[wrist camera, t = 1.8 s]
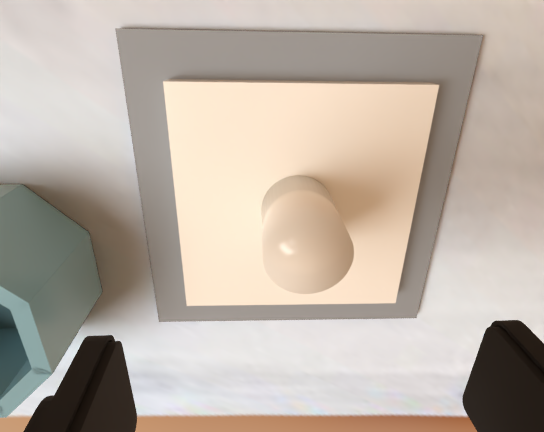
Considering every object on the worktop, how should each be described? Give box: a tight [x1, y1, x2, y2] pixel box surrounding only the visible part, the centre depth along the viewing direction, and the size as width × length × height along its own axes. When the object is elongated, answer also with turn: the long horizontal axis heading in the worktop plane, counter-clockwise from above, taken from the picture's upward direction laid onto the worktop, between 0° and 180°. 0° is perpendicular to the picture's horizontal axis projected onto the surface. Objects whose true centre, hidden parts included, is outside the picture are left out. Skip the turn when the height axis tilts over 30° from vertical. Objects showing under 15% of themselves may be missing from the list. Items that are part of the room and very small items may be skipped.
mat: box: [116, 29, 483, 322], centre depth 20 cm, size 16×16×1 cm
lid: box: [163, 79, 439, 306], centre depth 17 cm, size 12×12×6 cm
